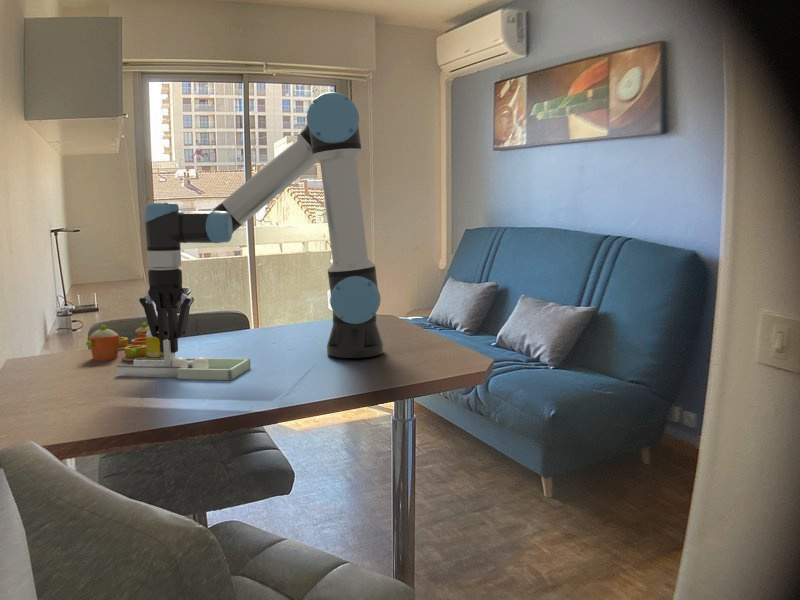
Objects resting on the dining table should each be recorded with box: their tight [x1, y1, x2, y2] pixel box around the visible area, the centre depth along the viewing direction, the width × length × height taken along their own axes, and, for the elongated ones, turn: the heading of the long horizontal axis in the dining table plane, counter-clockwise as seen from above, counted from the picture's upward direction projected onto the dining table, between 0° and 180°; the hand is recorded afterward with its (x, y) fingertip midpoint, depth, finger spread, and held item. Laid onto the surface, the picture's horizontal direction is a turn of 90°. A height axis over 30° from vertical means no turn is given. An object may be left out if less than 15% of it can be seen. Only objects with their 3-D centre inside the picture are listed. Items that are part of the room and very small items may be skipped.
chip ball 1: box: [172, 356, 188, 368], centre depth 152 cm, size 4×4×4 cm
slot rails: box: [116, 357, 196, 379], centre depth 153 cm, size 16×9×2 cm, turn 82°
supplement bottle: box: [146, 323, 164, 358], centre depth 167 cm, size 5×5×10 cm
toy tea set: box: [85, 322, 150, 362], centre depth 177 cm, size 26×16×10 cm, turn 10°
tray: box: [177, 357, 251, 381], centre depth 151 cm, size 13×12×2 cm
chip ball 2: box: [192, 356, 209, 369], centre depth 152 cm, size 4×4×4 cm
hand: (170, 365), depth 153 cm, fingers closed
